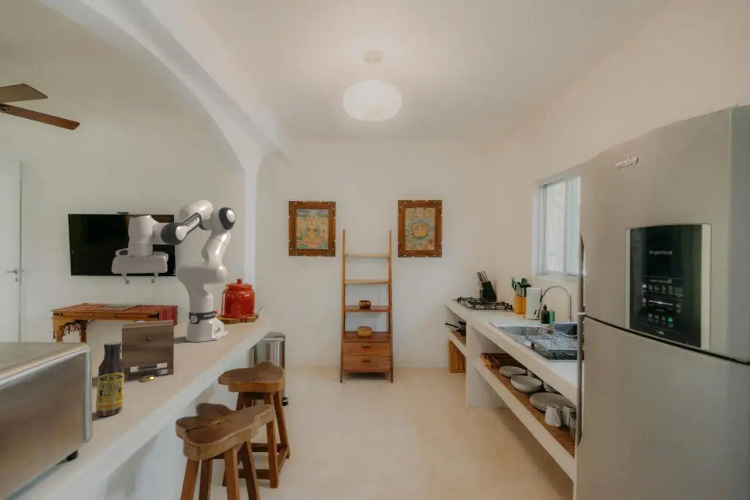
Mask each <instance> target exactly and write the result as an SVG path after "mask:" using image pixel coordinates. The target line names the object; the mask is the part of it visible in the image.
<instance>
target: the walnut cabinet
mask: <svg viewBox="0 0 750 500" xmlns="http://www.w3.org/2000/svg"><path fill="white" fill-rule="evenodd" d="M174 341H175V323H174V319H164V320H163V319H162V320H152V321H151V320H150V321H148V320H147V321H145V322H136V321H134V322H126V323H124V324H123V325H122V328H121V360H122V361H123V363H124V382H126V381H129V380H130V374H131V368H137V367H142V366H145V365H153V364H157V365H159V364H166V369H167V370H166V371H167V372H166V374H167V375H169V376H170V375H174V367H175V366H174V365H175V364H174V363H175V361H174V359H175V358H174V357H175V356H174V355H175V351H174V350H175V348H174V346H175V345H174V344H175V343H174Z"/></svg>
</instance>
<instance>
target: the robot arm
mask: <svg viewBox="0 0 750 500" xmlns="http://www.w3.org/2000/svg"><path fill="white" fill-rule="evenodd" d="M178 211H179V212H178V218H179V221H180V222H159V221H157V220H155V219H154V218H153V217H152V215H151V214H148V213H143V214H142V213H139V214H134V215H132V216H131V217H130V218H129V222H128V237H129V239H128V241H129V242H128V247H127V248H126V247H125V248H122V249H118V250H116V251H115V257H114V258H113V260H112V265H111V272H112V273H113V274H121V277H122V278H123V281H124V284H125V285H130V279H128V278H127V277H126V276H127V274H153V275H154V277H153V278H151V280H150V281H151V282H150V284H156V279H157V277H158V276H159V274H160V273H162V274H164V273H166V272H168V264H167V263H168V261H169V254H168V253H167V252H164V251H153V248H154V247H153V245H170V246H179V245H180V244H182V243H183V242H184V240H185V239H186V238H187V236H189V234H190V233H192V232H193V231H194V230H196V229H197V228H199V229H200V230H202V231H210V230H211V232H210V235H209V237H208V238H207V240H206V242H205V243H204V244H203V247H202V248H201V250H200V251H201V253H200V255H201V256H202V258H203V260H204V262H203V261H202V262H187V263H183V264H180V265H179V266H178V267H177V269H176V278H177V280H178V281H179V282H180V283H181V284H182V285H183V286H184V287H185V289H186V291H187V294H188V299H189V311H188V321H187V326H186V334H185V335H184V338H185V341H187V342H192V343H199V342H202V343H203V342H208V341H217V340H220V339H222V338H223V336H224V337H225V336H227V335H228V333H229V334H230V332H229V331H227V330H225V326H224V325H225V324H224V322H223V321H222V320H220V319H218V318H217V317H216V315H218V314H219V313H220V312H219V310H218V309H217V310H216V309H214V295H213V293H211V292H210V291H208V290H207V288H206V286H205V285H217V284H223V283H224V282H225V281H226V279H227V277H228V270H227V268H226V266H225V265H224V264H223V258H224V256H225V253H226V252H227V249H228V247H229V246H230V241H231V237H232V234H231V232H230V230H232V229H233V228H234V225H235V224H236V223H235V222H236V219H237V218H236V217H237V216H236V212H235V211H234V209H233V208H230V207H225V206H224V207H219V208H218V207H217V208H214V206H213V204H212V203H211V202H210V201H209V200H207V199H197V200H194V201H192V202H189V203H187V204H185V205H183V206H182V207H181V208H180V209H179V210H178ZM221 337H222V338H221Z"/></svg>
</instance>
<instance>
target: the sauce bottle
mask: <svg viewBox="0 0 750 500" xmlns="http://www.w3.org/2000/svg"><path fill="white" fill-rule="evenodd" d="M103 349H104V350H103V351H104V354H103V355H104V356H103V360H102V361H101V363H100V364H99V366H98V375H97V383H96V384H97V385H96V402H95V403H96V404H95V409H96V410H95V411H96V412H95V414H96V416H98V417H108V416H110V417H111V416H113V415H116V414H118V413H120V412H121V411H122V410H123V405H124V389H125V386H124V385H125V381H124V363H123V361H122V357H121V349H122V341H118V340H117V341H116V340H115V341H107V342H105V343H104V344H103Z"/></svg>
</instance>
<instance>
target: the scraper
mask: <svg viewBox="0 0 750 500" xmlns="http://www.w3.org/2000/svg"><path fill="white" fill-rule="evenodd" d="M157 368H158V364H153V365H145V366H141V371H146V370H154V369H157Z"/></svg>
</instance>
